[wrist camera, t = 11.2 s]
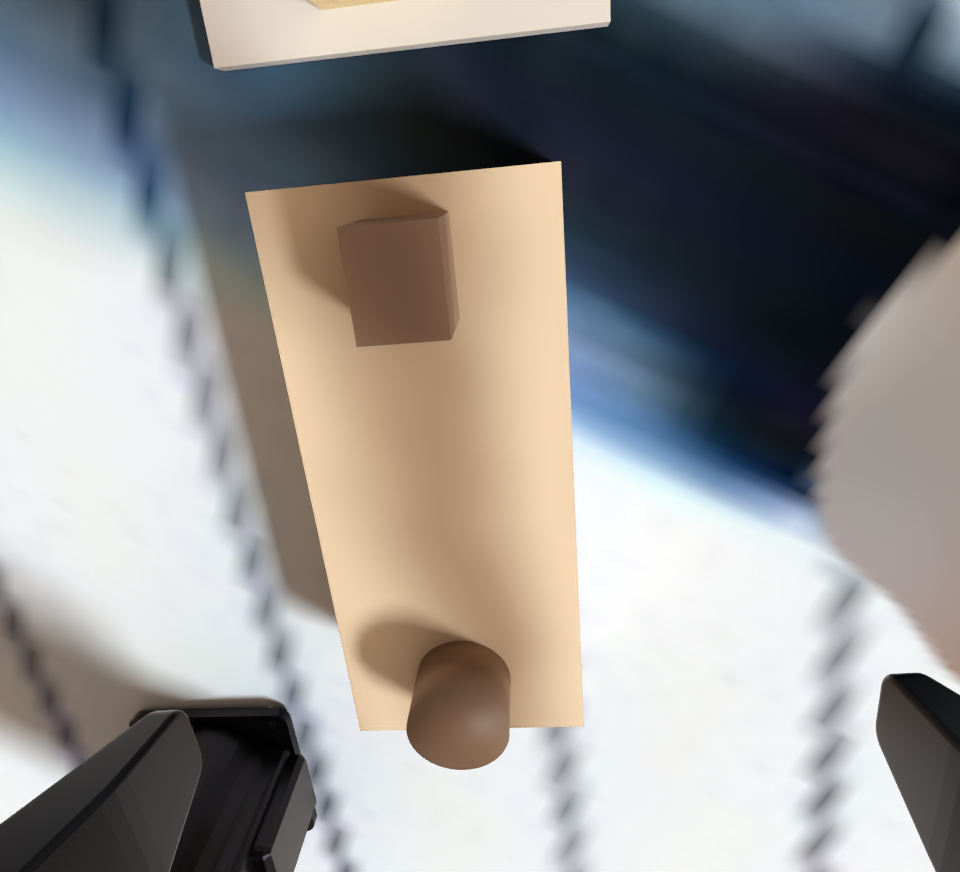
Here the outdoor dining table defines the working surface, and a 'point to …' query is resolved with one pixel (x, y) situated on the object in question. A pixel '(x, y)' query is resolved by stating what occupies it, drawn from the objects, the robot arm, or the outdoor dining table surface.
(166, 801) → the robot arm
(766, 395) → the outdoor dining table surface
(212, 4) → the mat
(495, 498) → the plane body
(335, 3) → the tan slotted block
